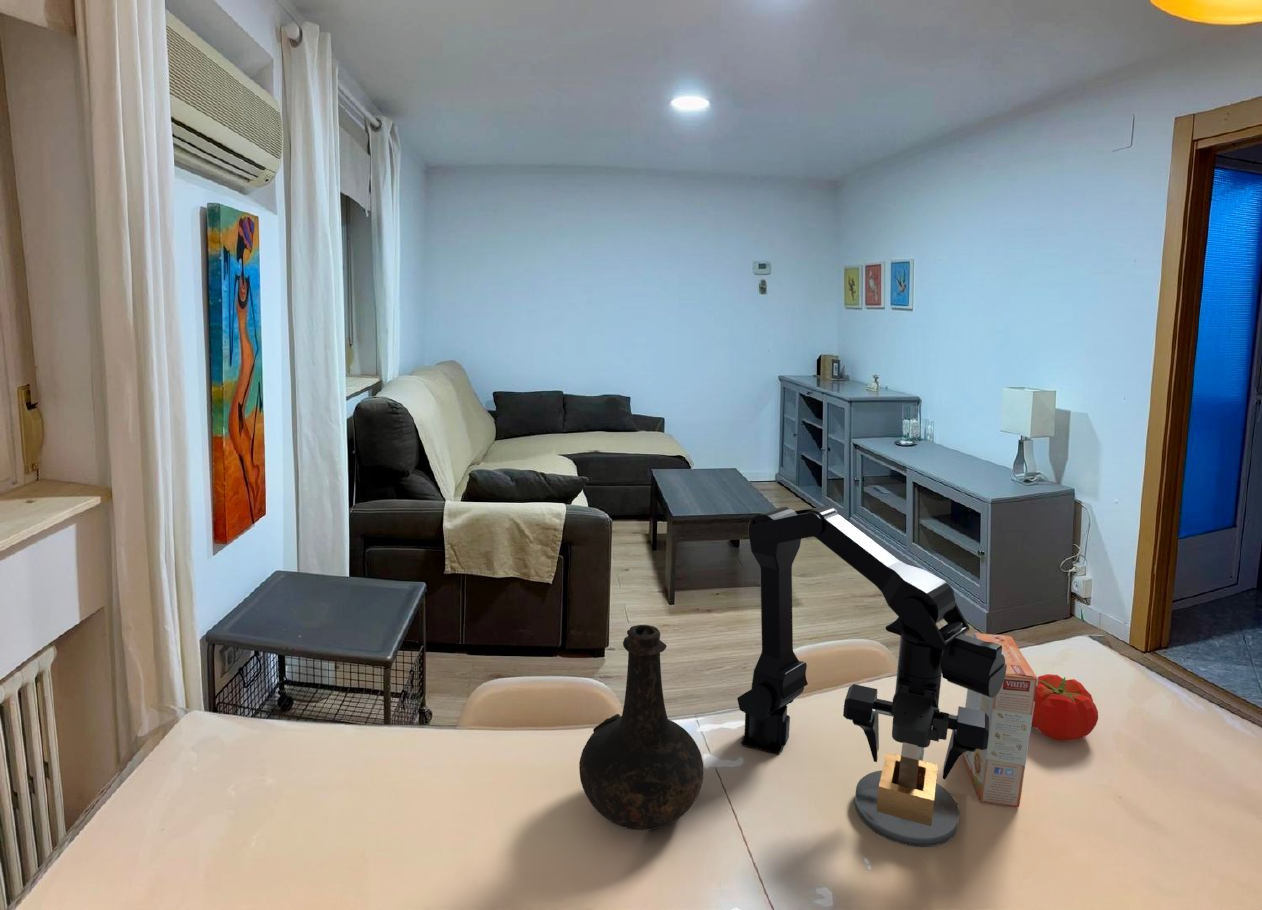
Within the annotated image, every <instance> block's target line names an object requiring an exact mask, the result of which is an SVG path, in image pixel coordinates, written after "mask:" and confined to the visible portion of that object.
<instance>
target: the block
mask: <svg viewBox="0 0 1262 910" xmlns="http://www.w3.org/2000/svg"><path fill="white" fill-rule="evenodd" d="M901 744H902V745H901V751H900V752H901V754H900V756H901V759H900V770H899V780H898V785H901V786H905V787H909V788H913V789H916V785H917V776H918V766H919V756H920V747H918V746H917V745H913V744H909V743H905V742H903V743H901Z"/></svg>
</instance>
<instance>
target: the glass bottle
mask: <svg viewBox="0 0 1262 910" xmlns="http://www.w3.org/2000/svg"><path fill="white" fill-rule="evenodd" d="M626 633H627V636H625V637H624V638H623V642H622V646H623V648H624V649H625V650H626V651H627V653H628V656H627V674H626V684H625V692H624V693H625V696H624V702H623V709H622V713H621V715H620V714H619V713H616V714H614V715H611V717H609V718H606V719H605V720H603V722H600V723H599V724H598V725H597V726H595V727H594V728H593V730H592V731H593V733H592V734H591V735H590V737H589V738H588V740H587V741H586V743H585V745H584V746H583V749H582V752H581V754H580V758H579V761H578V763H579V765H578V766H579V769H578V770H579V777H580V783H581V786H582V789H583V791H584V794H585V796H586V798H587V800H588V801H589V802H590V804H591V805H592V807H593V808H594V809H595V811H597V812H598V813H599V814H600V815H601V816H602V817H604V818H605V819H606V820H608V821H609V822H611V823H613V824H614V825H616V826H618V827H622V828H624V829H628V830H633V831H650V830H655V829H659V828H663V827H666V826H668V825H671V824H672V823H674V822H676V821H678V819H679V820H680V818H681V817H683V816H684V815H685V814H686V813H687V812H688V811H689V810H690V808H691V807H693V805H694V803H695V802H696V800H697V798H698V796H699V794H700V793H701V790H702V786H703V782H704V772H705V771H704V760H703V757H702V754H701V753H702V752H701V750H700V748H699V747H698V744H697V743H696V741H695V738H693V737H692V736H691V734H690V733H689V732H688V731H687V730H686V729H685V728H683V727H682V726H681V725H680V724H678V723H677V722H675V721H673V720H671V719H669V718H668V715H667V711H666V706H665V705H666V704H665V699H664V693H663V691H664V690H663V685H662V684H663V682H662V666H661V653H663V652H664V651H665V650H666V649H667V644H666V643H664V641H662V640H661V631H660V630H659V629H658V627H656V626H653V625H649V624H637V625H633V626H630V628H629V629H628V630H627V631H626Z"/></svg>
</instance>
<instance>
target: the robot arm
mask: <svg viewBox="0 0 1262 910" xmlns="http://www.w3.org/2000/svg"><path fill="white" fill-rule="evenodd" d="M747 533H748V534H747V535H748V539H749V540H748V541H749V546H750V551H751V553H752V555H753V556H754V559H756V562H757V563H758V565H759V570H760V576H759V577H760V616H761V617H760V619H761V621H760V622H761V623H760V624H761V653H760V656H759V658H758V659H757V662H756V664H755V666H754V668H753V672H752V673H753V674H752V682H751V689H749V690H748V691H746V692H745V693H743V694H741V695H740V696H738V697H737V699H736V700H737V703H738V707H739V708H738V709H739V711H741V712H742V713H745V714H744V731H743V732H744V735H743V737H742V739H741V741H740V745H742V746H744V747H749V748H751V749H752V748H753V749H757V750H760V751H764V752H768V753H771V754H775V755H776V754H777V755H780V754H781V753H782V750H783V747H785V746H786V745H787V743H788V741H789V738H790V724H791V723H790V722H791V717H790V715H788V705H789V704H791V703H794V700H795V699H796V698H798V697H799V696H801V694H803V693H804V690H805V687H806V686H808V681H807V667H808V665H807V661H801V660H799V659H798V657H797V655H796V654H795V652H794V646H793V645H794V643H793V642H794V641H793V640H794V637H793V635H794V634H793V627H794V626H793V571H792V570H793V564H794V561H795V560H796V558H797V557H796V556H797V554H798V552H799V550H800V548H801V542H802V539H805V538H806V539H807V538H813V537H814V538H815V539H816V540H818V541H819V542H821V543H822V544H823V545H825V546H826V547H827V548H828V549H829V550H831V551H832V552H833V553H834V554H836V555H837V556H838V557H839V558H840V559H841V560H843V561H844V562H845V563H847V564H848V565H849V566H850V567H851V568H853V569H854V570H855V571H857V572H858V573H859V574H860V575H862V576H863V577H865V579H866V580H868V581H869V582H870V583H872V584H873V585H874V586H875V587H876V588H877V589H878V590H879V591H880V592H881V594H882V596H883V597H884V600H885V602H886V604H887V606H888V607H889V608H890V609H891V610H892V612H893V613H894V614H895V615H896V616H897V618H896V619H895V620H894V621H892V622H890V623H889V624H888V625H886V626H885V630H886V631H887V632H888V633H892V634H895V635H897V636H900V637H899V638H900V639H899V648H898V661H897V670H896V679H895V680H896V681H895V693H894V695H893V697H892V701H890V700H886V699H880V698H878V688H874V687H870V686H865V685H861V684H856V683H853V684H851V685H850V686H849V688H848V690H847V693H846V696H845V699H844V703H843V713H842V714H843V715H842V716H843V717H844V719H846V720H851V721H852V723H853V725H854V726H858V727H859V728H860V729H862V730H863V733H864V734H865V736H866V739H867V743H868V746H869V749H870V752H871V755H872V756H871V757H872V760H873V762H874V763H878V760H879V759H878V758H879V749H880V744H879V743H880V742H879V741H880V735H879V734H880V733H879V728H880V726H879V715H884V716H888V717H891V718H892V726H891V727H892V728H891V729H892V730H891V737H892V739H893V740H894V741H895V742H898V743H901V744H903V742H905V743H909V744H913V745H917V746H918V747H922V748H924V749H925V748H929V746H930V745H931V742H932V741H933V742H937V743H938V742H939V741H940V740H943V741H947V737H948V730H952V731H951V735H950V739H949V742H948V747H947V751H946V754H945V758H944V759H945V760H944V762H943V770H942V779H943V780H947V778H948V776H949V775H950V773H951V771H952V769H953V767H954V766H955V764H956V762H957V761H958V760H959V758H960V757H961V756H963V755H962V754H963V753H964V752H966V751H970V752H974V751H975V750H976V749H980V750H985V749H987V746H988V737H989V717H988V715H987V714H986V713H985V712H984V711H979V710H974V709H970V708H965V706H960V705H958V709H957V715H954V714H950V713H948V712H944V711H940V708H939V707H940V706H939V702H940V694H941V693H940V692H941V682H942V678H943V679H945V680H946V681H947V682H948V683H951V684H954V685H955V686H956V685H957V686H960V687H962V688H964V689H966V690H967V689H969V690H972V691H975V692H977V693H980V694H983V695H985V696H988V697H991V698H994V697H995V696H996V695H997V694H998V692H999V691H1000V689H1001V687H1002V684H1003V681H1004V678H1005V674H1006V668H1007V665H1006V664H1005V657H1004V655H1003V654H1002V646H1001V645H999V644H996V643H993V642H986V641H983V640H980V639H977V638H974V636H969V635H967V633H968V632H969V631H970V630H971V629H970V626H969V624H968V622H967V620H966V618H965V617H964V615H963V613H962V611H961V610H960V607H959V606H958V604H957V602H956V598H955V597H956V596H955V594H954V593H955V590H954V589H953V588H952V586H951V585H950V584H949V583H948V582H947V581H946V580H944V579H942V578H940V577H938V576H936V575H935V574H933V573H931V572H929V571H927V570H926V569H923V568H920V567H917V566H916V567H915V566H913V565H911V564H910V565H909V564H907V563H904V562H903V561H901V560H899V559H898V558H897V557H895V556H894V555H893V554H891V553H890V552H889V551H888V550H886V549H885V548H884V547H882V546H881V545H879V544H878V543H877V542H875V540H873V539H872V538H871V537H869V536H867V534H865V533H864V532H862V531H861V530H860V529H859V528H857V527H856V526H855V525H854V524H852V523H851V522H850V521H848V520H847V519H845V518H844V517H843V516H842V515H840V514H839V512H838V511H837V509H836V508H834V507H832V506H829V505H822V506H819V507H814V508H812V507H811V508H804V509H803V508H802V509H799V510H793V509H792V508H790V507H787V506H781V507H780V506H779V507H777V508H773V509H771V510H768V511H765V512H763V513H759V514H757V515H754V517H753V518H751V520H749V522H748V526H747ZM943 620H944V621H945V622H946V624H945V625H944V626H941V627H940V628H939V627H938V625H937V624H938V623H940V622H941V621H943Z"/></svg>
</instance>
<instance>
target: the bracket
mask: <svg viewBox="0 0 1262 910" xmlns="http://www.w3.org/2000/svg"><path fill="white" fill-rule="evenodd" d="M924 754H925V748H922V747H920V756H919V766H918V776H917V785H916V789H913V788H909V787H905V786H901V785H898V780H899V770H900V759H901V754H900V755H899V754H896V753H891V752H887V751H886V752H885V757H884V761H883V764H882V769H881V770H875V771H872V772H870V773H868V774H865V775H864V776H862V777H861V778H860V779H859V780H858V782H857V784H856V787H855V798H854V806H855V811H856V813H857V815H858V816H859V818H860V819H861V821H862V822H863V823H864V824H865V825H866V826H867V827H868V828H869V829H871V830H872V831H874V833H877V834H878V835H879V836H881V837H883V838H885V839H888V840H890V841H893V842H895V843H898V844H902V845H905V844H906V845H907V846H910V847H911V846H912V847H919V848H920V847H921V848H922V847H923V848H924V847H927V848H928V847H934V846H935V847H936V846H940V845H943V844H945V843H947V842H948V841H951V839H953V838H954V836H955V835H956V833H957V831H958V827H959V819H960V809H959V808H960V807H959V804H958V803H957V801H956V799H955V798H954V796H953V795H952V794H951V793H950V792H949V791H948V790H947V789H945V788H944V787H943V786H942V785H940V784H939V783H937V775H938V766H939V765H938V764H937V763H934V762H933V763H932V762H928V761H924Z"/></svg>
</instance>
